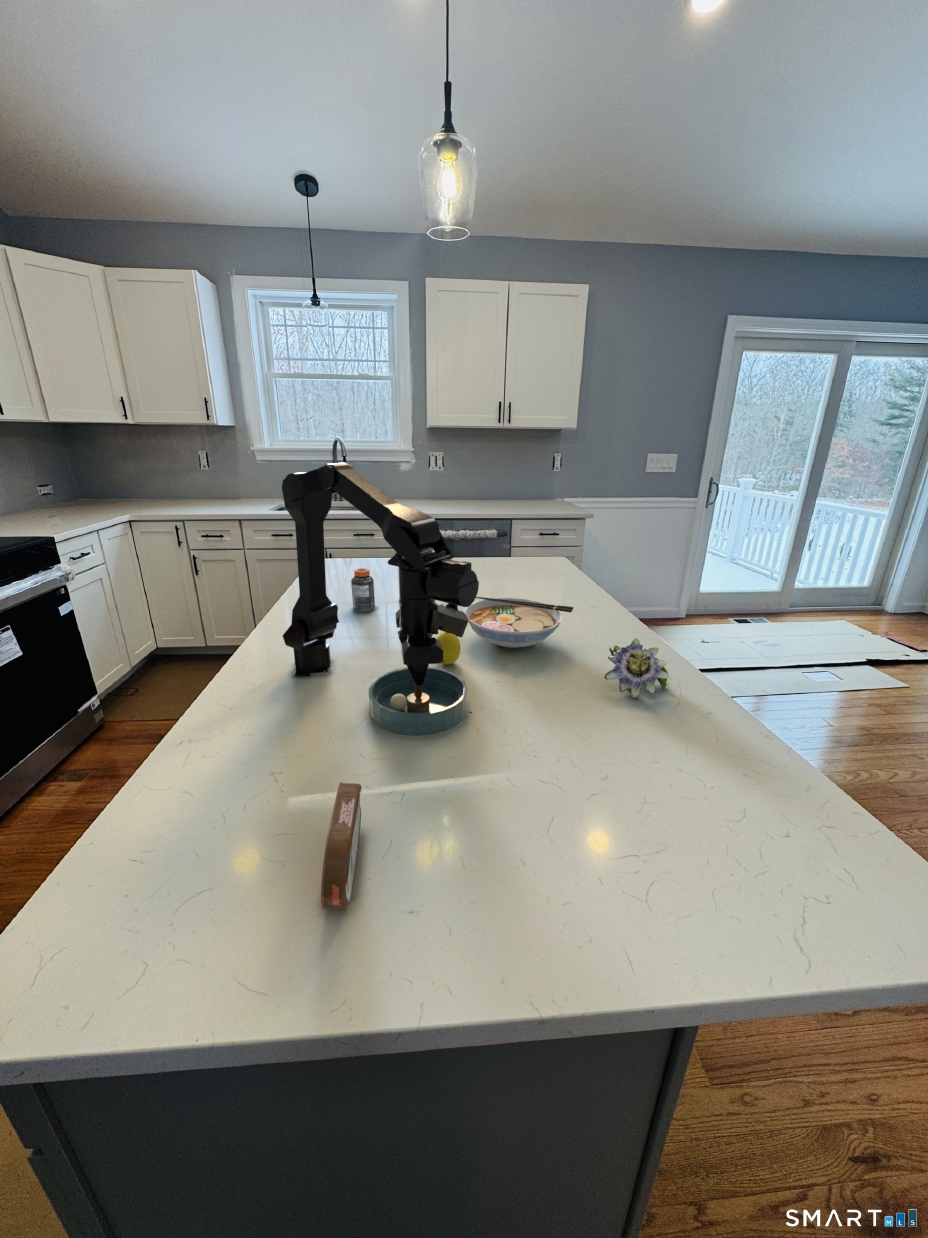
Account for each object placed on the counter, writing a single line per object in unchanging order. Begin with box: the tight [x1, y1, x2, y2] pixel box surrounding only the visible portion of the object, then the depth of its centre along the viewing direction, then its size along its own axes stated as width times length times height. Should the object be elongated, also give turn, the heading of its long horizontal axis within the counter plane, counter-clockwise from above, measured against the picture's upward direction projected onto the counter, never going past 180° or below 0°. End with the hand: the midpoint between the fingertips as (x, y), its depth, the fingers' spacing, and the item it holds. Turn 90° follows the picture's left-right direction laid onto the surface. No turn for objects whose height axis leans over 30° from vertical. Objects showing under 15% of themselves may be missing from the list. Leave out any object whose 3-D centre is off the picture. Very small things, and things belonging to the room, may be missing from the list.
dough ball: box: [390, 694, 407, 711], centre depth 89 cm, size 3×3×3 cm
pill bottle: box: [350, 567, 376, 613], centre depth 138 cm, size 6×6×11 cm
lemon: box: [436, 631, 461, 666], centre depth 107 cm, size 6×6×8 cm
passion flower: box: [603, 637, 670, 699], centre depth 100 cm, size 11×11×12 cm
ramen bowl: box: [463, 596, 574, 649], centre depth 119 cm, size 25×23×8 cm
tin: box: [320, 781, 362, 911], centre depth 57 cm, size 15×3×8 cm, turn 5°
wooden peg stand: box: [407, 681, 430, 713], centre depth 89 cm, size 4×4×11 cm
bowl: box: [368, 666, 468, 736], centre depth 90 cm, size 17×17×4 cm
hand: (418, 678), depth 89 cm, fingers open, 4 cm apart
